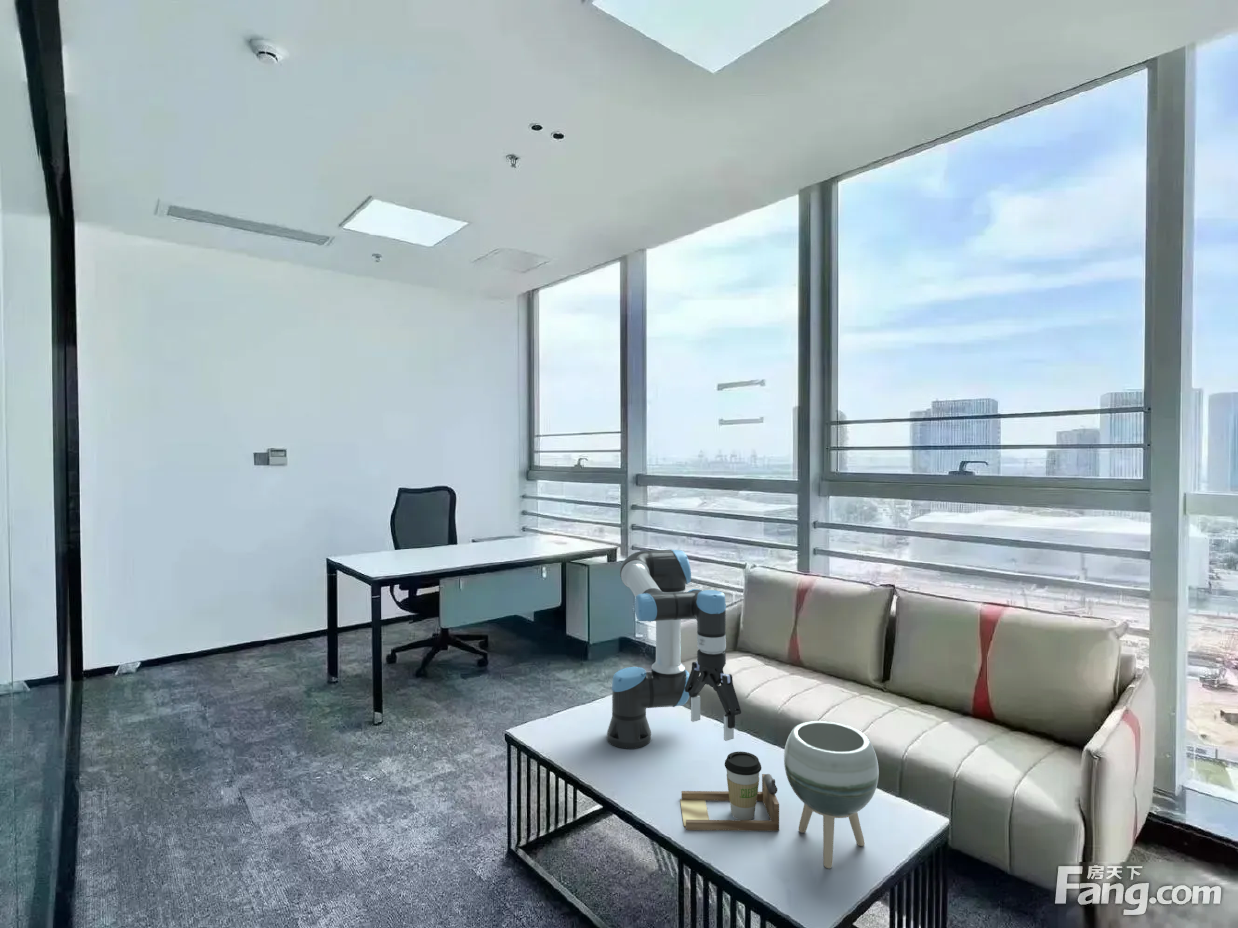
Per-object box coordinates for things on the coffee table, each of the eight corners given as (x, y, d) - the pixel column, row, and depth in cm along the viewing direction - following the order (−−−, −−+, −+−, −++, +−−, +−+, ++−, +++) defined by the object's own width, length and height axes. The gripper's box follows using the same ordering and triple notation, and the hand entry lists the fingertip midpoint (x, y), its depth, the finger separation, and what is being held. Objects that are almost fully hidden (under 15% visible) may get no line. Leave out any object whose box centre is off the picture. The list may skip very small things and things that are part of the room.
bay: (679, 797, 175) (679, 758, 175) (768, 798, 174) (768, 758, 174) (684, 829, 160) (684, 786, 160) (781, 830, 159) (781, 787, 159)
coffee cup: (761, 826, 161) (762, 769, 161) (723, 822, 163) (723, 765, 163) (761, 805, 171) (761, 751, 171) (725, 801, 173) (725, 748, 173)
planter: (826, 888, 138) (826, 765, 138) (765, 833, 158) (765, 725, 158) (899, 862, 147) (899, 746, 147) (832, 813, 167) (832, 711, 167)
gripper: (672, 640, 173) (672, 716, 173) (732, 665, 151) (732, 751, 151) (693, 636, 177) (693, 710, 177) (755, 660, 155) (755, 744, 155)
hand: (711, 729), depth 164 cm, fingers open, 13 cm apart
